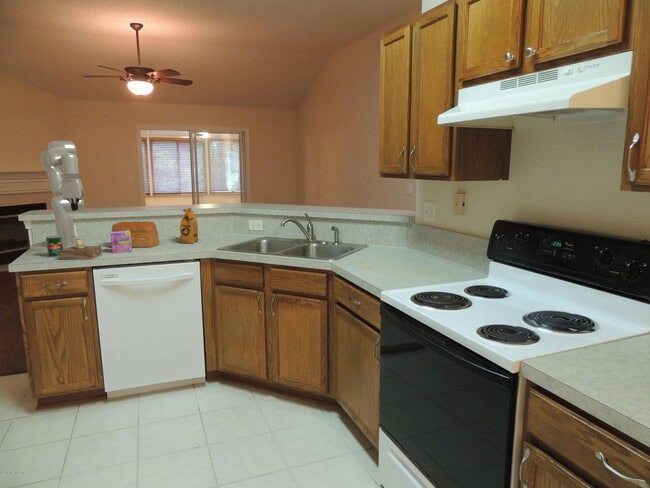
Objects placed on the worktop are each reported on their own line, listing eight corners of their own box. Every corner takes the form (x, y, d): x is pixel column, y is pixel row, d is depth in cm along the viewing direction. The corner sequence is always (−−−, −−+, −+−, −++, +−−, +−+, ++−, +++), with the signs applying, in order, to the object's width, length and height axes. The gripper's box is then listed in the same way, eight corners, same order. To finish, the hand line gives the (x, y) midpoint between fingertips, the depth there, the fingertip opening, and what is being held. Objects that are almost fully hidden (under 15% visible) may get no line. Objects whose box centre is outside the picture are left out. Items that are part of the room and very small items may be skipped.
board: (73, 255, 255) (72, 246, 254) (101, 254, 256) (100, 246, 255) (61, 259, 244) (60, 250, 243) (91, 259, 244) (90, 250, 243)
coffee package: (178, 243, 286) (175, 209, 282) (186, 240, 298) (183, 207, 294) (193, 244, 285) (191, 209, 281) (200, 240, 297) (198, 207, 293)
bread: (153, 247, 275) (151, 223, 272) (109, 248, 275) (106, 223, 272) (161, 243, 289) (159, 220, 286) (119, 244, 289) (117, 220, 286)
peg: (80, 256, 252) (77, 238, 250) (87, 256, 252) (85, 238, 250) (76, 258, 248) (74, 240, 246) (83, 258, 248) (81, 240, 246)
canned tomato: (59, 253, 260) (57, 234, 258) (67, 255, 256) (65, 235, 254) (45, 256, 253) (42, 237, 251) (53, 257, 249) (50, 238, 247)
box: (112, 253, 259) (110, 233, 257) (112, 251, 264) (110, 231, 262) (132, 251, 264) (130, 231, 262) (131, 249, 269) (129, 230, 267)
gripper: (53, 177, 242) (57, 211, 246) (81, 177, 242) (85, 211, 246) (61, 176, 249) (64, 209, 253) (88, 176, 250) (91, 209, 254)
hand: (74, 210), depth 250 cm, fingers closed
